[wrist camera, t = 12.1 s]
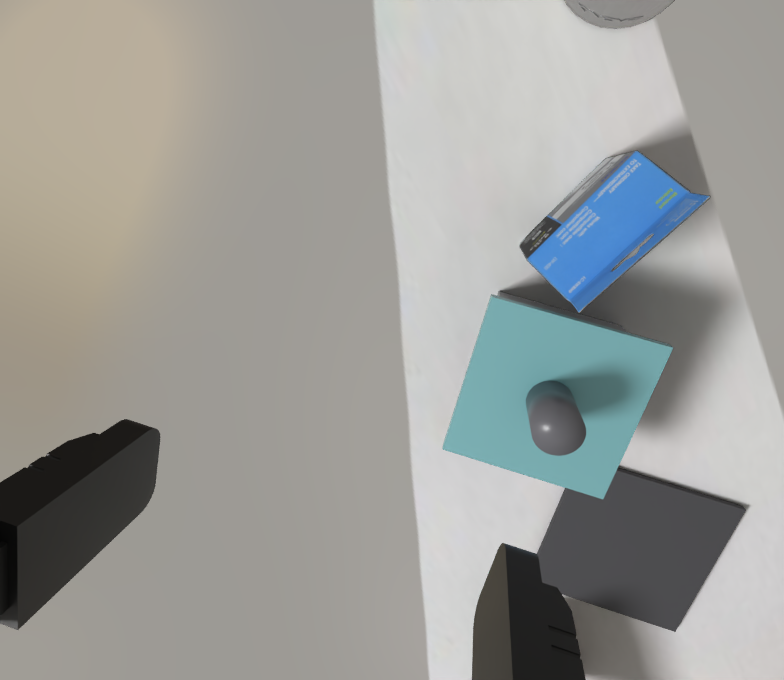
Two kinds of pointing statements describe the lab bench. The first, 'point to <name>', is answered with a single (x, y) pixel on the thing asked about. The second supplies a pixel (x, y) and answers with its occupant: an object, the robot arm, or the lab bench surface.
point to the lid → (553, 395)
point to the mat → (636, 546)
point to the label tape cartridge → (607, 226)
